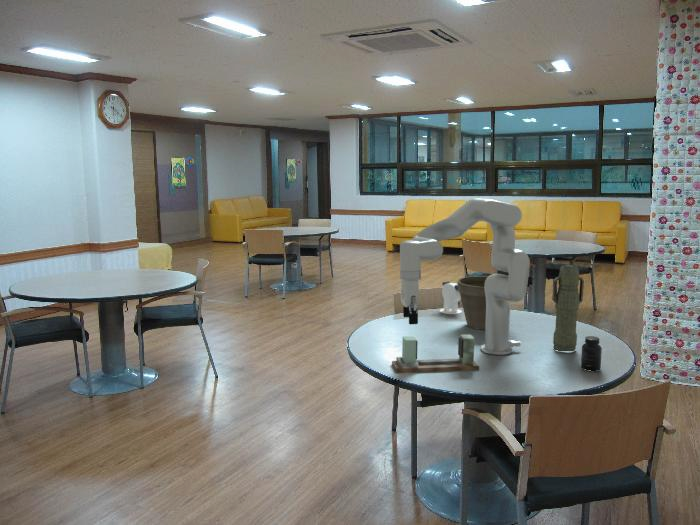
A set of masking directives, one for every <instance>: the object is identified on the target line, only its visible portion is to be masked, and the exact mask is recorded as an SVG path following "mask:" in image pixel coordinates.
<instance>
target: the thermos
mask: <svg viewBox="0 0 700 525" xmlns="http://www.w3.org/2000/svg"><path fill="white" fill-rule="evenodd" d="M584 286H585V280H584V279H583V277H582V276H580V271H579V268H578V266H576V265H574V264H563V265H561V267H560V269H559V271H558V276H556V277H555V278H554V279H553V284H552V299H551V300H552V301H553V302H554V303H555V309H556V312H555V328H554V332H553V336H552V338H553V339H552V343H553V347H552V348H554V349H555V350H558V351H574V350H575V349H577V348H576V346H577V341H578V334H577V319H578V310H579V309H580V308H579V307H580V305H581V304H580V303H583V298H584ZM554 349H553V350H554ZM555 350H554V351H555Z"/></svg>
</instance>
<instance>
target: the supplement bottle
mask: <svg viewBox="0 0 700 525" xmlns="http://www.w3.org/2000/svg"><path fill="white" fill-rule="evenodd" d="M602 352H603V348H602V346H601V345H600V338H599V337H597V336H592V335H588V336H585V339H584V343H583V344H582V346H581V358H580V368H581V369H582V368H583V369H586V370H591V371H596V370H599V371H601V368H602ZM583 369H582V370H583ZM586 370H585V371H586ZM591 371H590V372H591ZM596 372H597V371H596Z"/></svg>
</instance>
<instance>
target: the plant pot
mask: <svg viewBox="0 0 700 525" xmlns="http://www.w3.org/2000/svg"><path fill="white" fill-rule="evenodd" d="M488 276H489V275H488ZM488 276H486V275H482V276H481V275H471V276H464V277H460V278H459V279H457V285H458V291H459V292H460V296H461V299H460V301H461V305H462V309H463V312H464V318H465V321H466V322H465V323H466V326H468V328H471V329H475V330H480V331H485V324H486V295H485V289H484V284H485V280H486V279H487V277H488Z"/></svg>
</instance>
